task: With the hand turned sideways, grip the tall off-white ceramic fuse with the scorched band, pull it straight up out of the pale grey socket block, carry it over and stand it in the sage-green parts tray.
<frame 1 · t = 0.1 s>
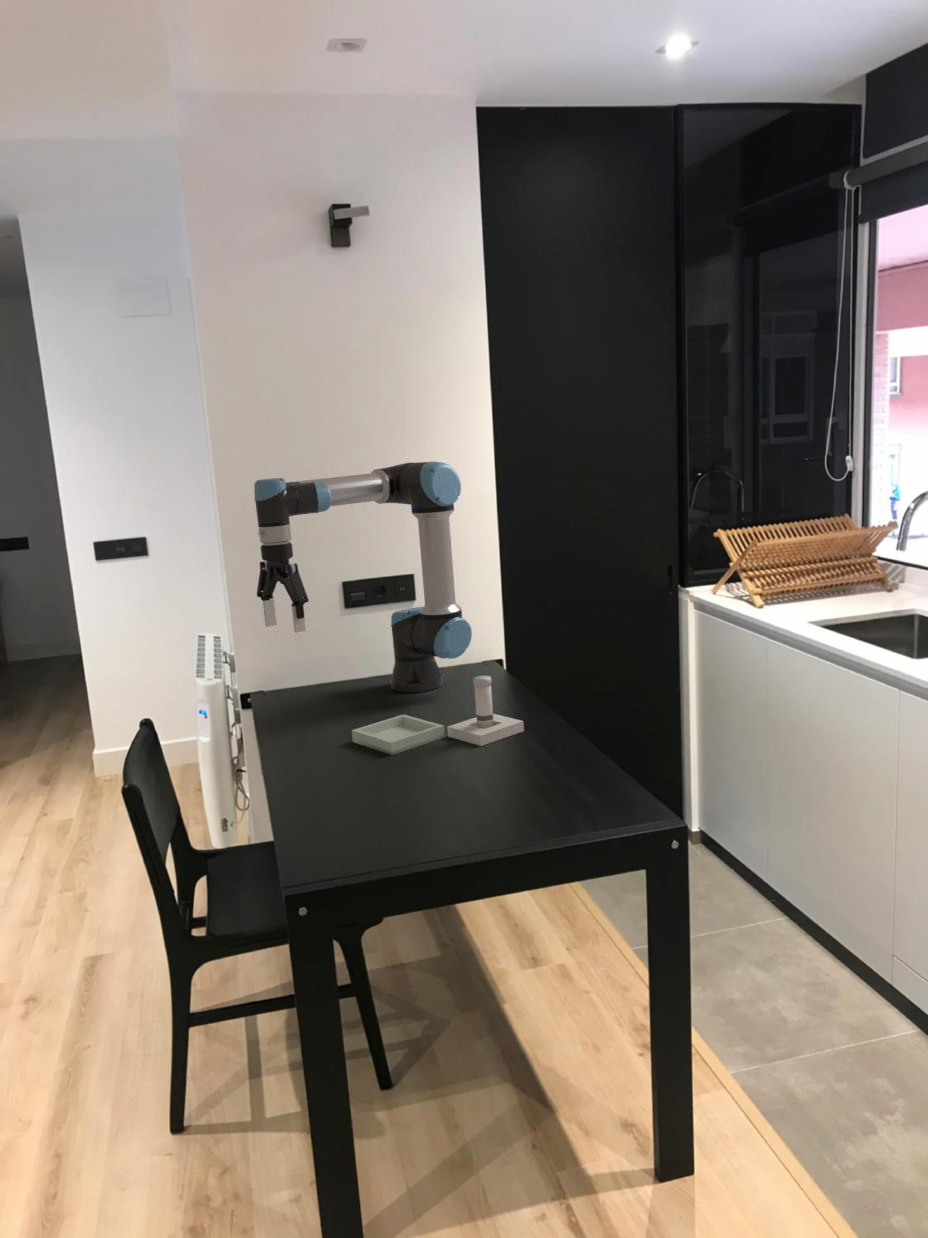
hand: (285, 628, 247), 28 cm above the table, tool pointing down, fingers open, 13 cm apart
fuse: (484, 706, 242), in the socket block
parts tray: (398, 739, 244), on the table
socket block: (486, 733, 244), on the table
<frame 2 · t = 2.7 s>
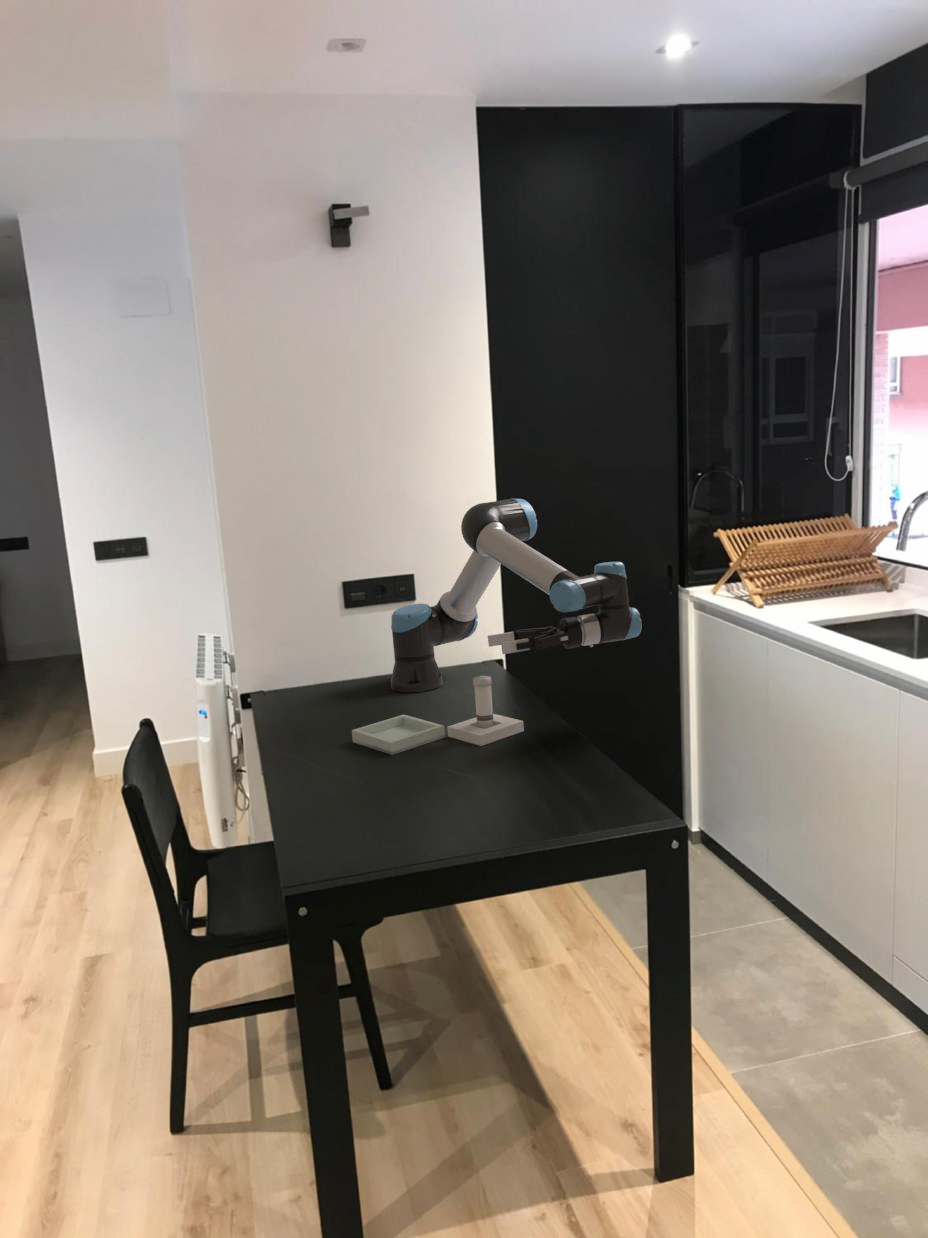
hand: (494, 644, 242), 21 cm above the table, tool horizontal, fingers open, 13 cm apart
nothing on the table moved.
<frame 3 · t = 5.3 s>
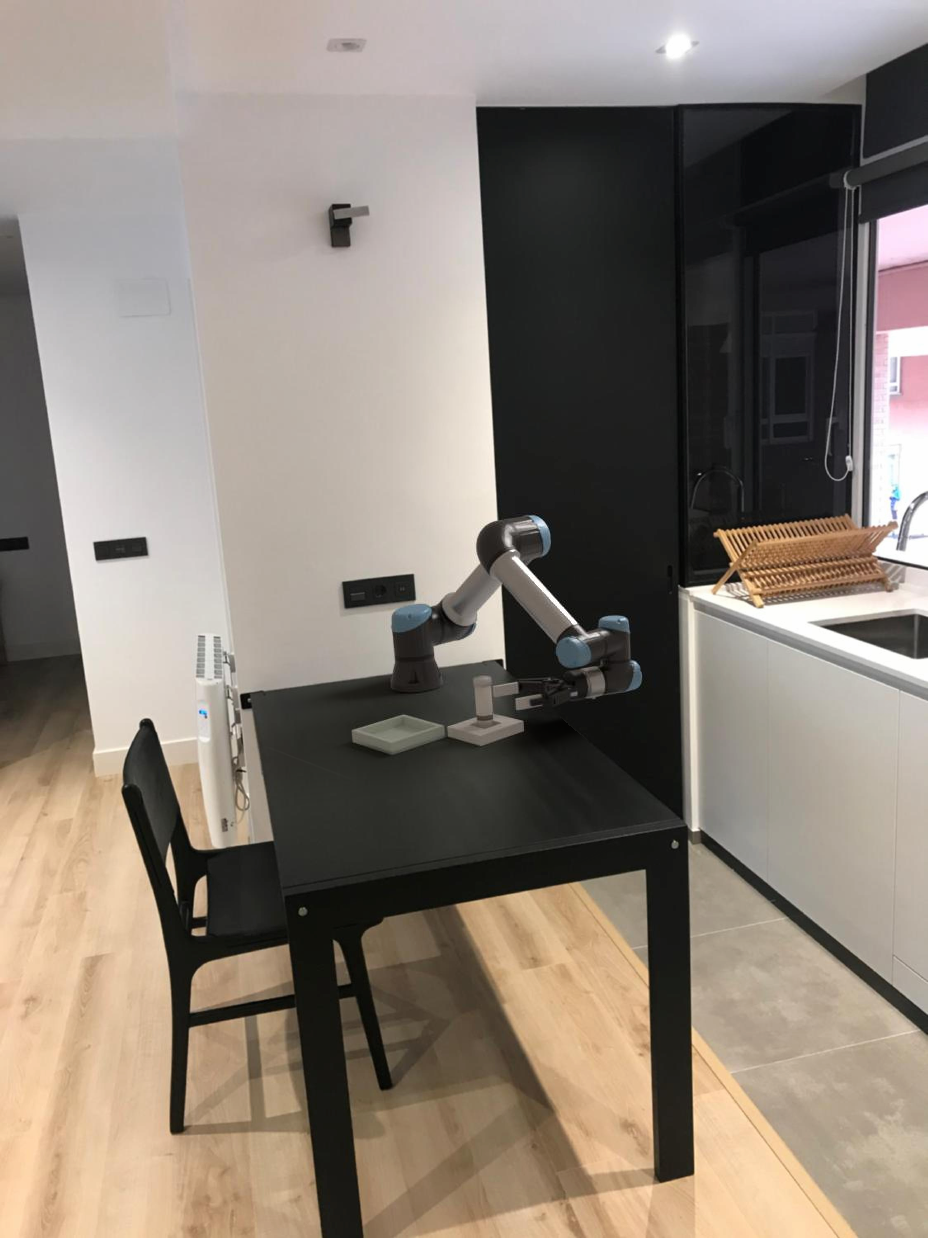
hand: (504, 698, 243), 8 cm above the table, tool horizontal, fingers open, 13 cm apart
nothing on the table moved.
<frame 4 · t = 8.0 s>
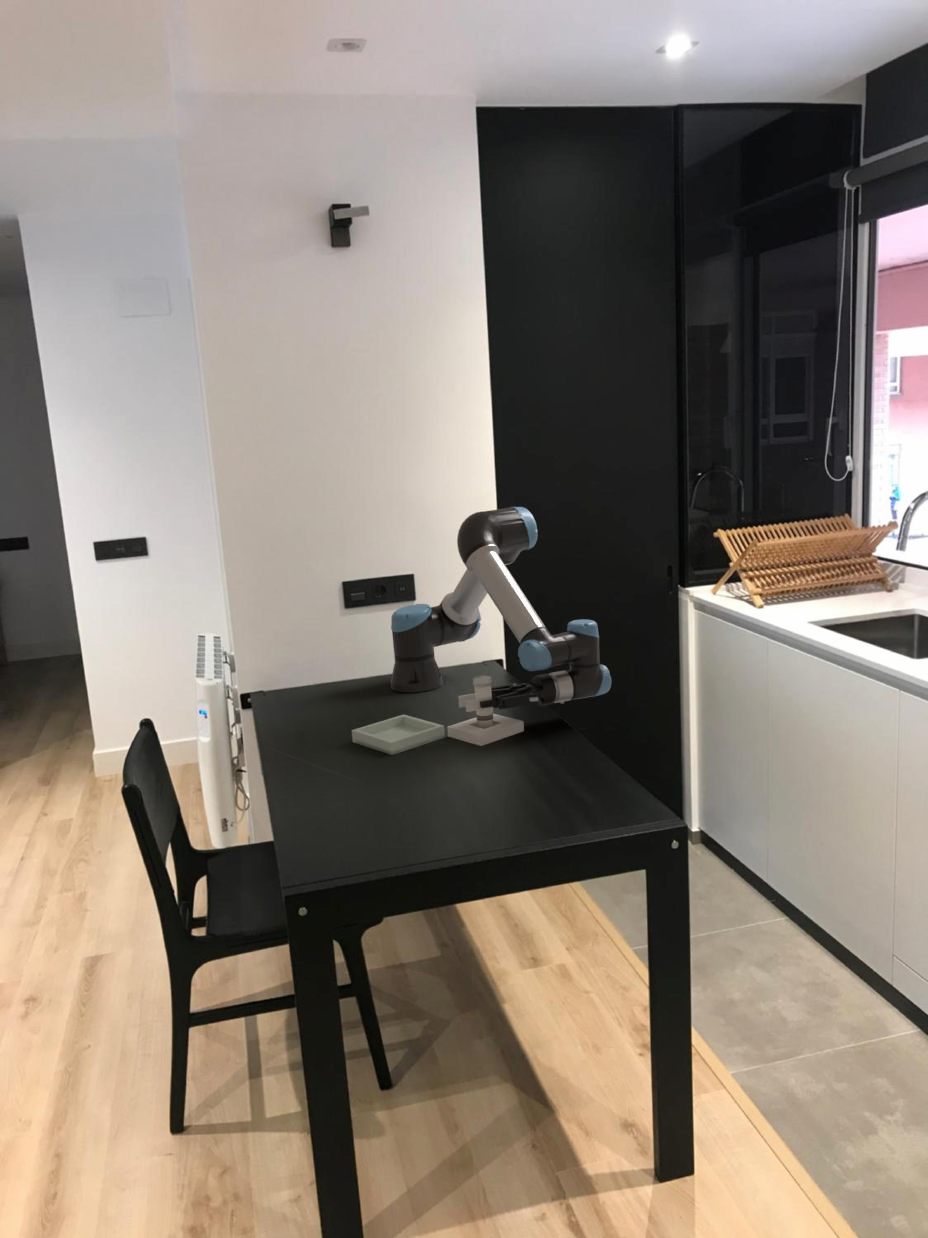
hand: (462, 704, 240), 8 cm above the table, tool horizontal, fingers closed on fuse, 4 cm apart
fuse: (484, 706, 242), in the socket block, touching gripper
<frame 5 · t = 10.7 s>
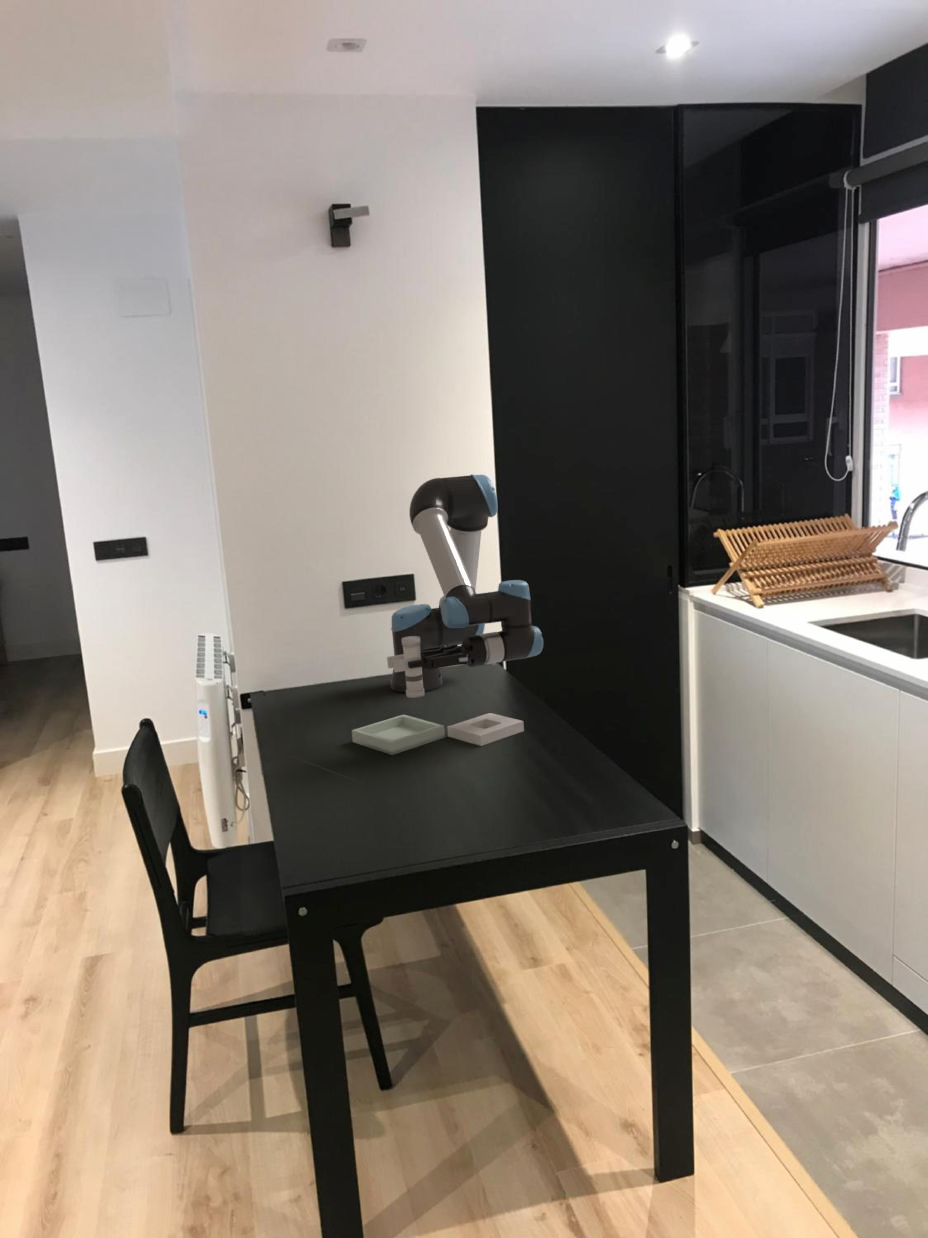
hand: (391, 664, 237), 20 cm above the table, tool horizontal, fingers closed on fuse, 4 cm apart
fuse: (413, 666, 239), point 18 cm above the table, touching gripper
when the fingers open (10 cm above the table, at t = 13.5 s): fuse drops 1 cm, resting on parts tray.
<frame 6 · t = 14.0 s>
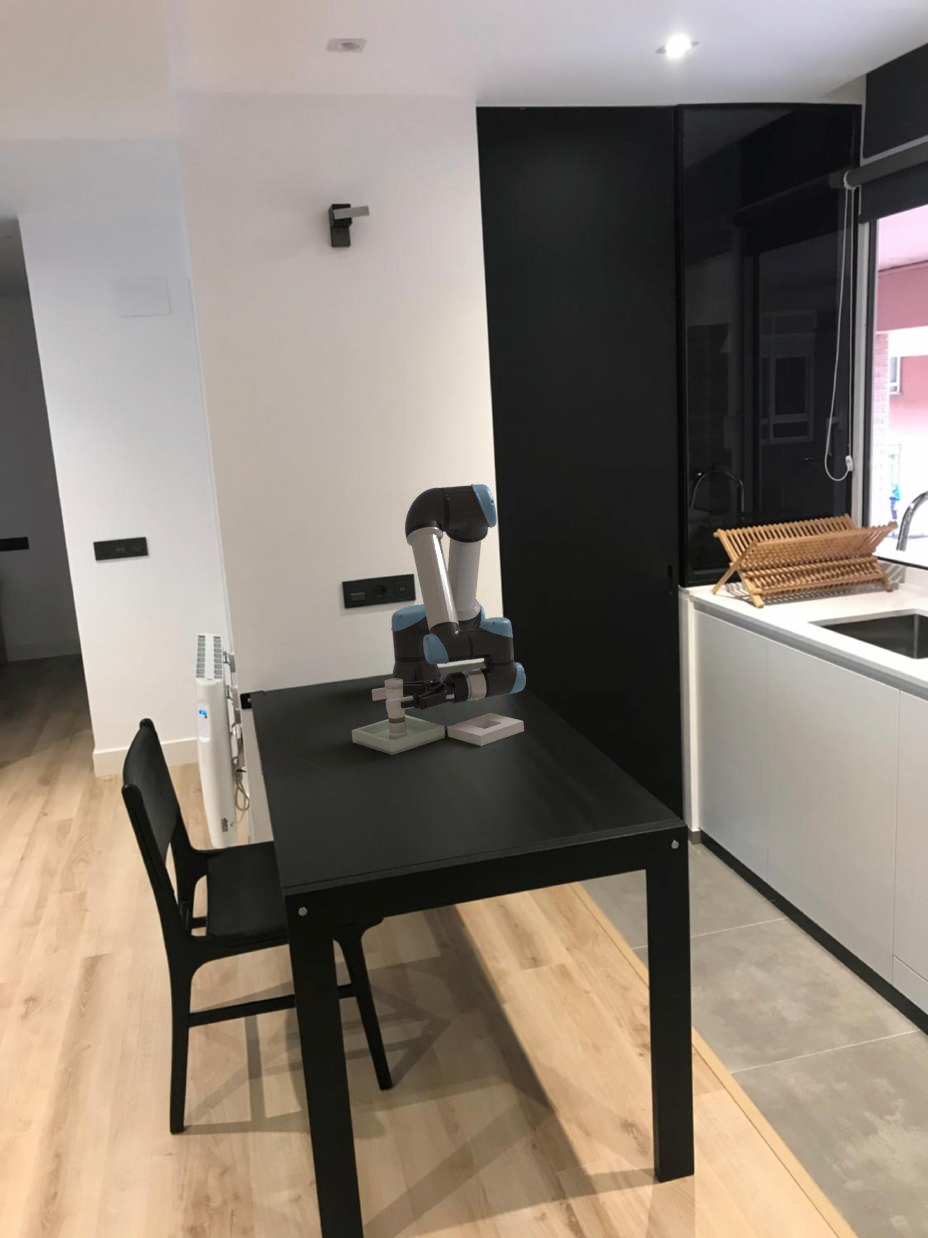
hand: (379, 700, 241), 10 cm above the table, tool horizontal, fingers open, 11 cm apart
fuse: (396, 708, 243), in the parts tray, point 8 cm above the table
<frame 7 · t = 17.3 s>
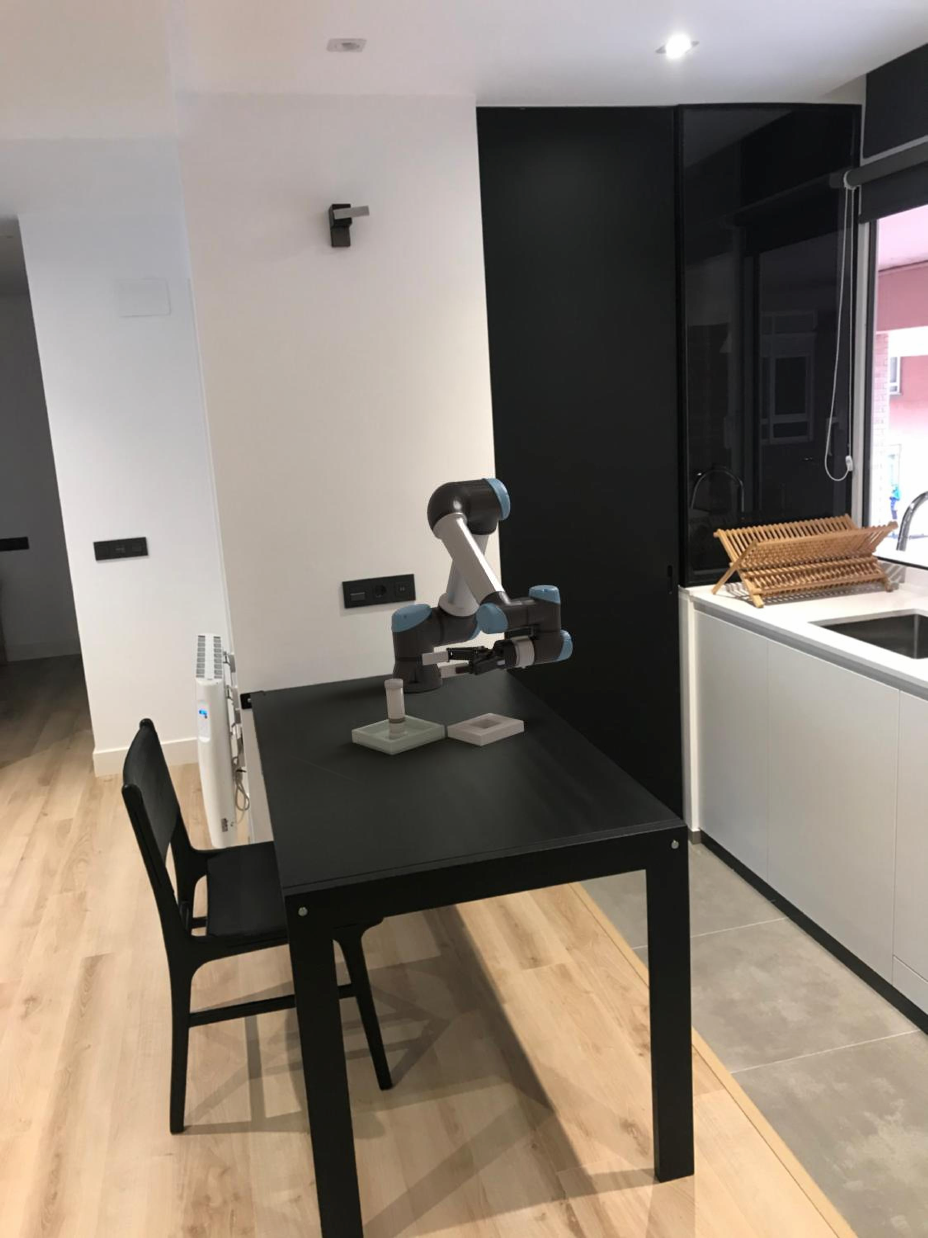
hand: (431, 665, 243), 17 cm above the table, tool horizontal, fingers open, 13 cm apart
nothing on the table moved.
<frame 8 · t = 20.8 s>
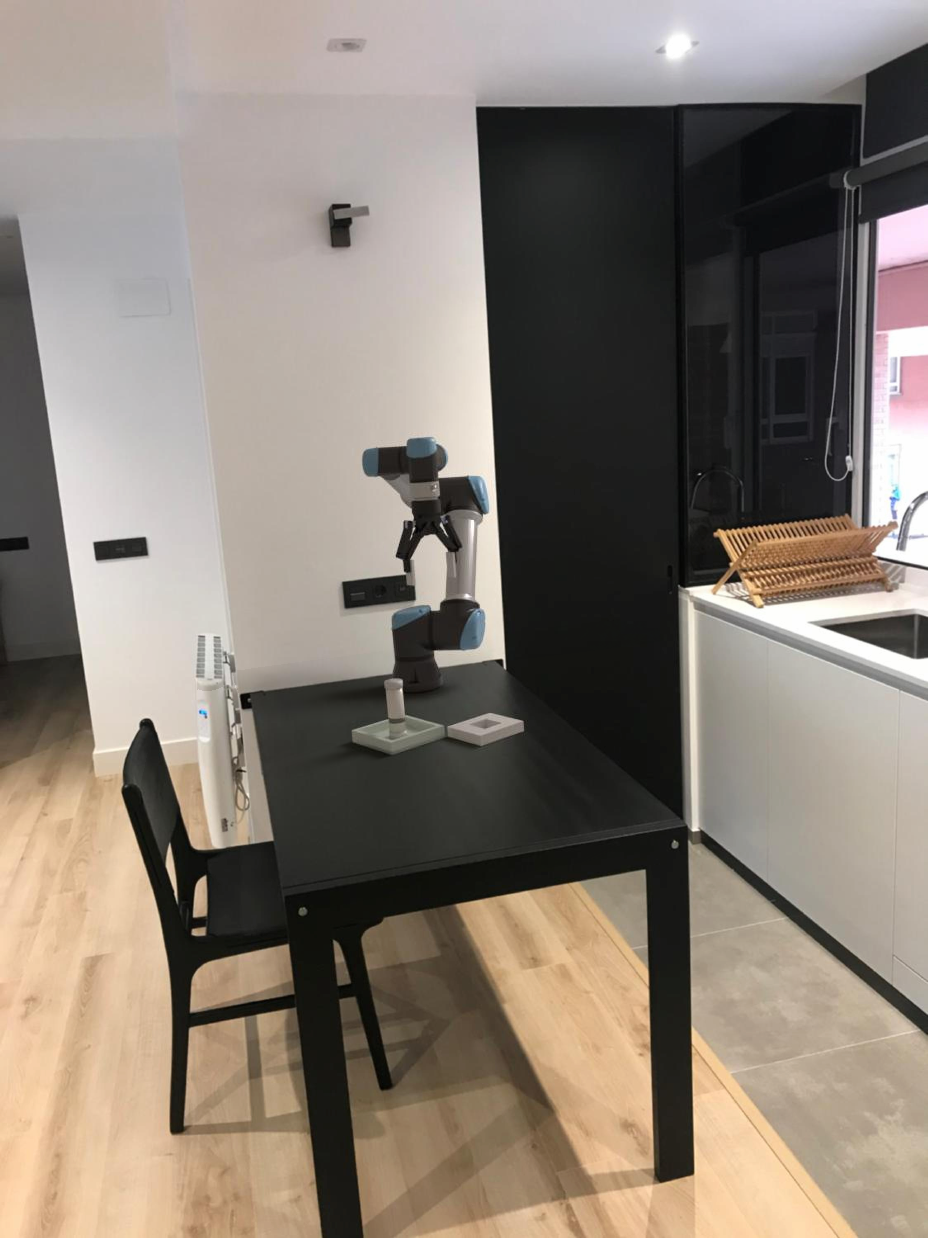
hand: (432, 581, 260), 35 cm above the table, tool pointing down, fingers open, 13 cm apart
nothing on the table moved.
at the end: fuse inside the target area on the parts tray (0.0 cm from its centre), point 7.8 cm above the parts tray's base; the gripper is holding nothing; fuse tilted 0° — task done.
